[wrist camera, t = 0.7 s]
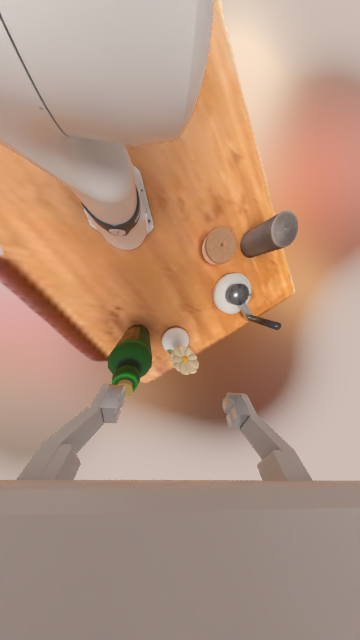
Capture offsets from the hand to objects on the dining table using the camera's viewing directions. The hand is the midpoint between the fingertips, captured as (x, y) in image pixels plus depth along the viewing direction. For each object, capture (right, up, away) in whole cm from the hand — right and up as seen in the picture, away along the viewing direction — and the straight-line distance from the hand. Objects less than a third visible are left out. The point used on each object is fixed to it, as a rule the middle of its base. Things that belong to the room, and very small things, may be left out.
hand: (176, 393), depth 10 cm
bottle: (-16, 0, +40) cm, 43 cm away
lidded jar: (+12, +32, +38) cm, 51 cm away
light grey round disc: (+21, +17, +44) cm, 51 cm away
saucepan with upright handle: (+25, +13, +42) cm, 50 cm away
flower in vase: (-3, -2, +43) cm, 43 cm away
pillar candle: (+28, +36, +41) cm, 61 cm away
